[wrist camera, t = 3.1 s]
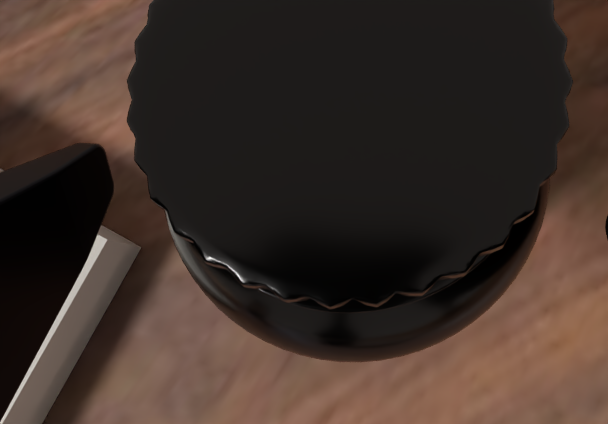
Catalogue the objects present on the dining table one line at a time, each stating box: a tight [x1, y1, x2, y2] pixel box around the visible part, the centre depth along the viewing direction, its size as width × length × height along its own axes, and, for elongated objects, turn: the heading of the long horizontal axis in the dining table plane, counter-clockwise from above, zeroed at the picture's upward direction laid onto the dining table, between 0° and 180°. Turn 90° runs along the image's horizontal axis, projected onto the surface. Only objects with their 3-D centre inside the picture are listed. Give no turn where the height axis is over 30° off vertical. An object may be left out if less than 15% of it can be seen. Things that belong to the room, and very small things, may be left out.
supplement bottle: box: [127, 0, 573, 362], centre depth 11 cm, size 7×7×12 cm
